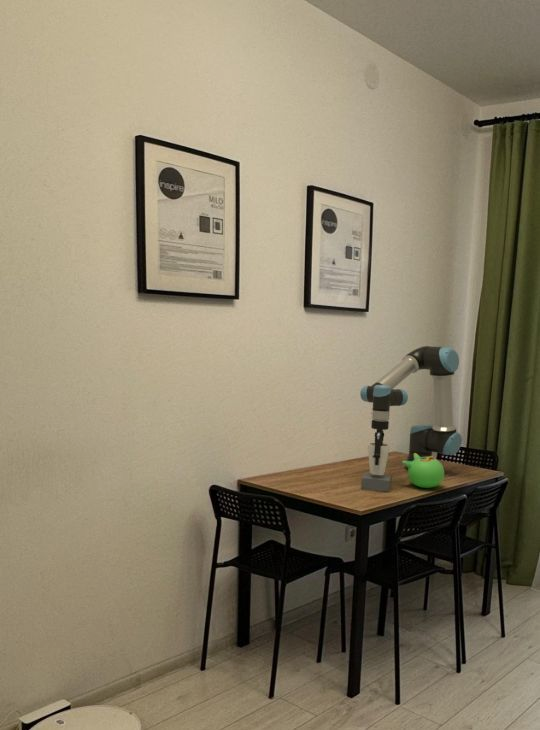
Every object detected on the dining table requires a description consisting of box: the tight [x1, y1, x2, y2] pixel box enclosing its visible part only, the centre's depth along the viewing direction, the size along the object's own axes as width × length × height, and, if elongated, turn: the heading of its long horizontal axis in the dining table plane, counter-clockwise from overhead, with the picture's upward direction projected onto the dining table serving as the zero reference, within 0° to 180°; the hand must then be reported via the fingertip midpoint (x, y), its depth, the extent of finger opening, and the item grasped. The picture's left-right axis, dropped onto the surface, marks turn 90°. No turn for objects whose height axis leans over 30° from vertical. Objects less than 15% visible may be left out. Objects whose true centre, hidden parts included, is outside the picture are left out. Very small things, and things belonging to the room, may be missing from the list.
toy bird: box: [401, 453, 445, 489], centre depth 284 cm, size 18×17×15 cm
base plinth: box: [360, 472, 392, 493], centre depth 279 cm, size 12×12×5 cm
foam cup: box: [367, 442, 390, 475], centre depth 278 cm, size 10×9×13 cm
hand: (377, 469), depth 279 cm, fingers closed on foam cup, 9 cm apart
